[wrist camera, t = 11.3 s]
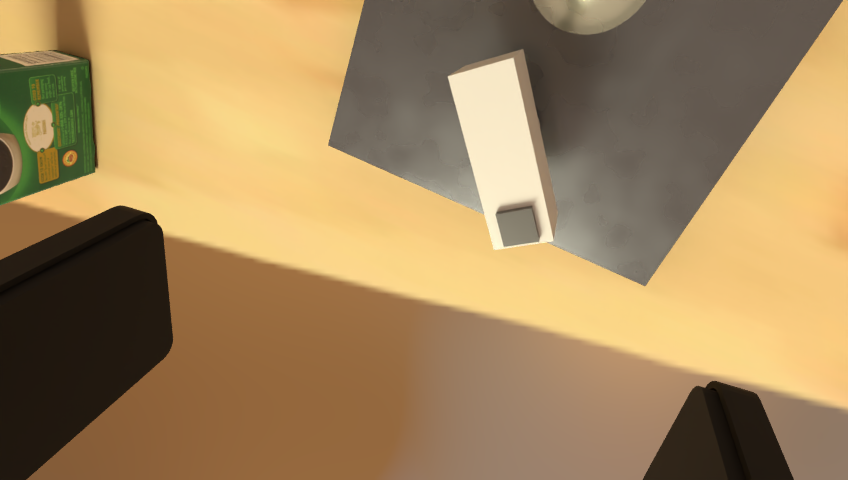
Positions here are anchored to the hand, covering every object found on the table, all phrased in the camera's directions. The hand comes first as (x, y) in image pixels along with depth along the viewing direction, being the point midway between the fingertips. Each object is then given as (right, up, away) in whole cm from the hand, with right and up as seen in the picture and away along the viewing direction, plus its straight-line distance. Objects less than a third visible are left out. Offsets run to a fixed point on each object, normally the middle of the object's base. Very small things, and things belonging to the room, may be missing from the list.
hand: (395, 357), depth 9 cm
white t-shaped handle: (+5, +7, +15) cm, 18 cm away
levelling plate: (+8, +14, +14) cm, 21 cm away
